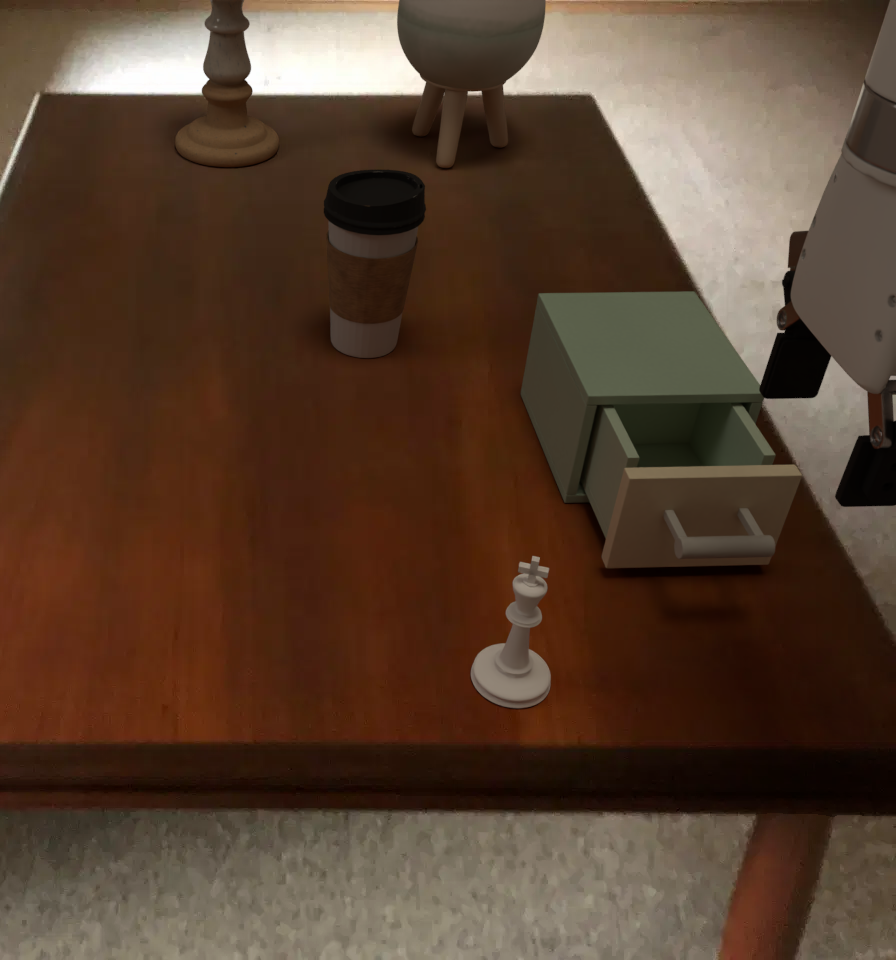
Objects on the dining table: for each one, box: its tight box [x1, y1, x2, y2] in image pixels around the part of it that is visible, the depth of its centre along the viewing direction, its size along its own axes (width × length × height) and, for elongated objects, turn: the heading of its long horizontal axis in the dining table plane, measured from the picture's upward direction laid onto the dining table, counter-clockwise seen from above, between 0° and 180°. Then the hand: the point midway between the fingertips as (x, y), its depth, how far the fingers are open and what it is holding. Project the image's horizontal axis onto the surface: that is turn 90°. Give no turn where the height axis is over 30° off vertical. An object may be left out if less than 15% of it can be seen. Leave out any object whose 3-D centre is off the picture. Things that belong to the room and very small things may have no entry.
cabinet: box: [520, 291, 765, 504], centre depth 91 cm, size 15×13×10 cm
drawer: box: [580, 402, 803, 569], centre depth 82 cm, size 18×11×8 cm, turn 3°
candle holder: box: [174, 0, 280, 168], centre depth 134 cm, size 12×12×20 cm
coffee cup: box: [323, 169, 427, 359], centre depth 101 cm, size 8×8×15 cm
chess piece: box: [470, 555, 552, 709], centre depth 71 cm, size 5×5×10 cm
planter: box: [396, 0, 547, 169], centre depth 133 cm, size 16×16×22 cm
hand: (824, 446), depth 63 cm, fingers open, 9 cm apart
